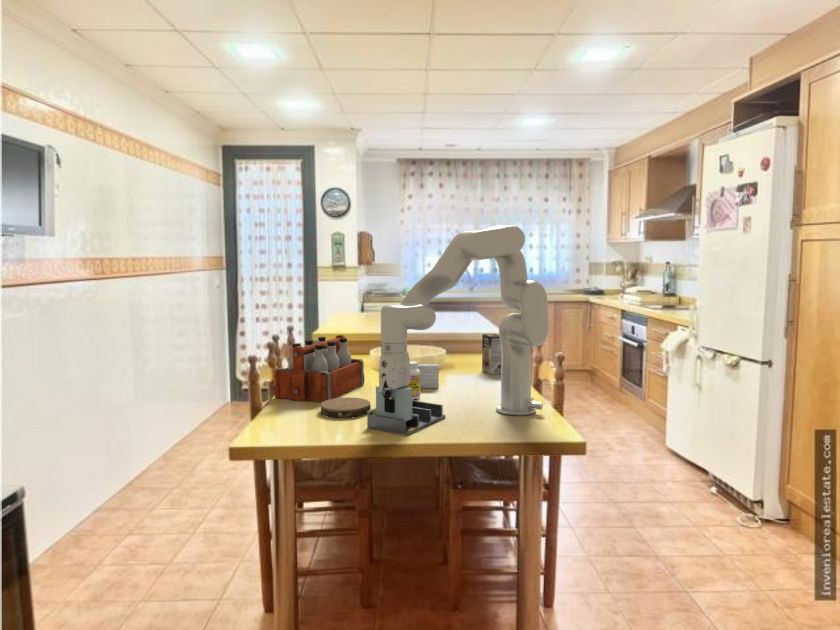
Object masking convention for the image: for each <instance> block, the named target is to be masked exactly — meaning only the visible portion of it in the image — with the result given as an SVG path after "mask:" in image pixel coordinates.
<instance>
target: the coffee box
mask: <svg viewBox="0 0 840 630" xmlns="http://www.w3.org/2000/svg"><path fill="white" fill-rule="evenodd" d="M481 338H482V339H481V340H482V343H481V344H482V345H481V346H482V348H481V349H482V350H481V351H482V352H481V353H482V355H481V365H482V366H481V367H482V368H481V369H482V370H481V371H483V372H486V373H487V374H489V375H498V374H499V373H501V363H502V352H501V341H500V336H499V334H497V333H482V337H481ZM499 375H500V374H499Z"/></svg>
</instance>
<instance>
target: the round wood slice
mask: <svg viewBox="0 0 840 630" xmlns="http://www.w3.org/2000/svg"><path fill="white" fill-rule="evenodd" d="M369 410H371V401H370V400H368V399H364V398H360V397H335V398H333V399H330V400H326V401H324V402H320V414H321V415H322V416H323V415H325V416H324V417H326V416H328V417H327V418H330V417H333V418H332V419H342V418H343V419H353V418H352V417H355V418H360V417H359V416H361V417H363V415H365V416H367V415H366V414H367V411H369Z"/></svg>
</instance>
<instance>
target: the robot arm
mask: <svg viewBox="0 0 840 630" xmlns="http://www.w3.org/2000/svg"><path fill="white" fill-rule="evenodd" d="M525 242H526V235H525V233H524V231H523V230H522V228H520V227H519V226H517V225H513V224H507V225H493V226H489V227H488V226H487V227H486V228H484V229H481V230H469V231H460V232H459V233H457V234H456V235H455V236H454V237H453V238H452V240H451V241H450V243H449V244H448V245H447V247H446V248H445V250H444V252H442V255H440V257H439V259H438V260H437V262H436V263H435V264H434V266H433V267H432V268H431V270H430V271H428V272H427V273H426V274H425V275H424V276H423V277H421V278H420V279H419V280H418V281H417V282H415V284H414V285H413V286H412V287H411V289H410V290H409V291H408V292H407V294H406V295H405V297H404V298H403V300H401V303H400V304H387V305H383V306H382V307H381V309H380V359H379V366H378V367H379V368H378V382H379V383H378V384H379V385H380V386H379V385H378V386H379V389H378V391H379V392H380V393H381V394H382V395H383V398H384V410H385V412H388V413H394V412H395V399H393V395H394V390H395V389H398V388H401V387H407V386H408V385H409V384H410V382H411V373H410V361H411V360H410V355H409V351H408V330H416V331H426V330H428V329H431V328H432V327H433V326H434V324H435V323H436V319H437V315H436V312H435V310H434V309H433V307H431V306H430V305H429V304H430V302H432V300H433V299H435V298H436V297H438V296H439V295H441V294H443V293H445V292H447V291H449V290H451V289H452V288H454V287H455V286H456V285H457V284H458V283H459V282H460V280H461V278H462V277H463V275H464V274H465V272H466V271H467V269H468V268H469V266H470V265H471V263H472V262H473V261H477V260H478V261H481V260H482V261H483V260H489V259H495V262H496V263H497V266H498V272H499V273H498V274H499V285H500V286H499V287H500V297H501V298H500V299H501V302H502V304H503V306H504V307H505V308H507V309H510V310H515V311H520V312H519V313H518V312H512V313H509V314H508V313H507V314H505V315H504V317H502V318H501V320H500V322H499V326H498V335H499V336H500V341H501V352H502V363H501V374H500V377H501V378H500V382H501V383H500V403H499V404H497V405H495V410H496V412H498V413H500V414H504V415H508V416H528V415H532V414H535V413H536V410H540V411H542V410H543V406H544V405H543V402H542V401H540V402H539V401H536V400H535V398H534V396H532V361H533V360H532V351H531V347H533V348H537V347H540V346H542V345H543V344H545V342H546V340H547V339H548V336H549V331H550V330H549V329H550V327H549V325H550V322H549V320H550V319H549V305H548V304H549V301H548V295H547V292H546V289H545V288H544V286H543V285H542V283H539V281H535V280H533V279H532V280H531V279H528V272H527V271H528V270H527V263H526V258H525V256H524V253H523V252H522V249H523V248H524V245H525V244H526V243H525ZM387 387H389V388H387ZM388 390H390V393H389V392H388Z"/></svg>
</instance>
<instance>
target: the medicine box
mask: <svg viewBox="0 0 840 630" xmlns="http://www.w3.org/2000/svg"><path fill="white" fill-rule="evenodd" d="M417 369H418V370H420V389H439V387H440V386H439V385H440V384H439V381H440V380H439V374H440V373H439V372H440V371H439V364H437V363H425V364H424V363H422V364H418V366H417Z"/></svg>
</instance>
